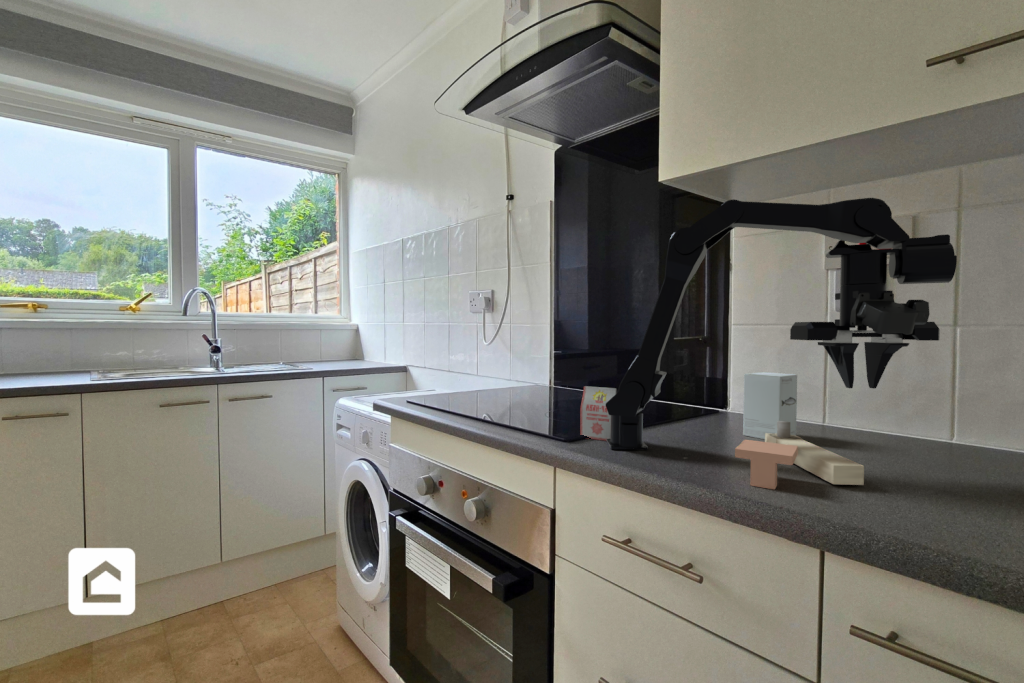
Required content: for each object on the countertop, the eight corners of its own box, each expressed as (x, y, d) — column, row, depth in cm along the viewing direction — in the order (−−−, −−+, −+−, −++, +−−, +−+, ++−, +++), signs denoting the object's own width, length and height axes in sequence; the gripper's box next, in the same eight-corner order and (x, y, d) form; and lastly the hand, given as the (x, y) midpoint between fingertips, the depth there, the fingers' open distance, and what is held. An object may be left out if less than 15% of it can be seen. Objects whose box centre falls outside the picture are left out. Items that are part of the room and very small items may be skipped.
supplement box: (779, 442, 94) (780, 375, 93) (741, 435, 100) (742, 373, 99) (797, 437, 98) (798, 373, 98) (760, 431, 104) (761, 371, 104)
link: (761, 447, 88) (761, 419, 88) (791, 448, 88) (791, 419, 88) (828, 484, 67) (829, 447, 67) (868, 484, 67) (869, 447, 67)
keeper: (744, 470, 75) (744, 439, 75) (797, 479, 71) (798, 445, 71) (734, 482, 69) (735, 448, 69) (791, 492, 65) (792, 456, 65)
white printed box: (587, 434, 101) (588, 385, 101) (619, 438, 98) (619, 387, 97) (580, 437, 98) (580, 387, 98) (612, 441, 95) (612, 389, 94)
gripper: (830, 280, 68) (828, 394, 68) (974, 280, 66) (971, 395, 67) (789, 287, 79) (787, 385, 79) (911, 286, 78) (909, 386, 78)
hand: (860, 388), depth 75 cm, fingers open, 3 cm apart
